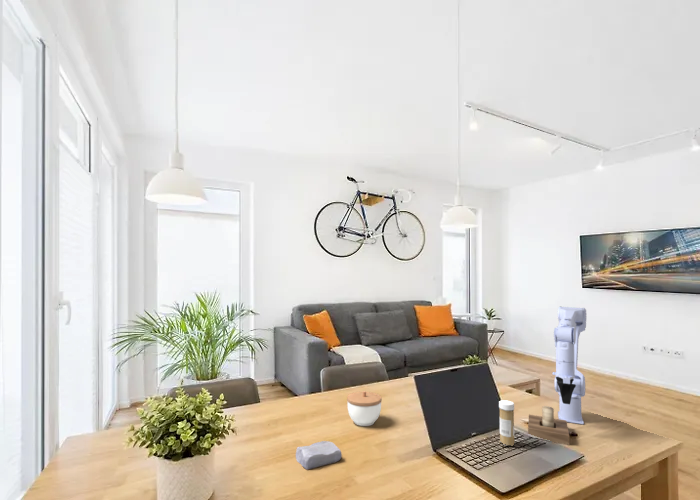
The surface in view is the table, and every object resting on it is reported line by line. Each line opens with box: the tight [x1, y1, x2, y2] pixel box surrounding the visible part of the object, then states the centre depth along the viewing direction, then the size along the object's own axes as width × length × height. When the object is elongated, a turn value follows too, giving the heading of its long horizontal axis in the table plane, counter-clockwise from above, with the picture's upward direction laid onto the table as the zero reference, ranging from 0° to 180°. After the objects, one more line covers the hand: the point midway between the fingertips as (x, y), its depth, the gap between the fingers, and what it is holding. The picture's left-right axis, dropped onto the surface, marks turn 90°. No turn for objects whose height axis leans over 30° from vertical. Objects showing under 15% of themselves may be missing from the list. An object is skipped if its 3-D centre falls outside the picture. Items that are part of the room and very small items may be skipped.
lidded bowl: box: [346, 390, 382, 427], centre depth 139 cm, size 13×13×11 cm
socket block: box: [527, 413, 570, 446], centre depth 131 cm, size 14×12×3 cm
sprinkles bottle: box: [498, 399, 515, 446], centre depth 122 cm, size 5×5×14 cm
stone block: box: [295, 440, 343, 470], centre depth 112 cm, size 12×5×10 cm
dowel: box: [541, 405, 555, 428], centre depth 131 cm, size 4×4×8 cm
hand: (565, 400), depth 133 cm, fingers open, 7 cm apart
